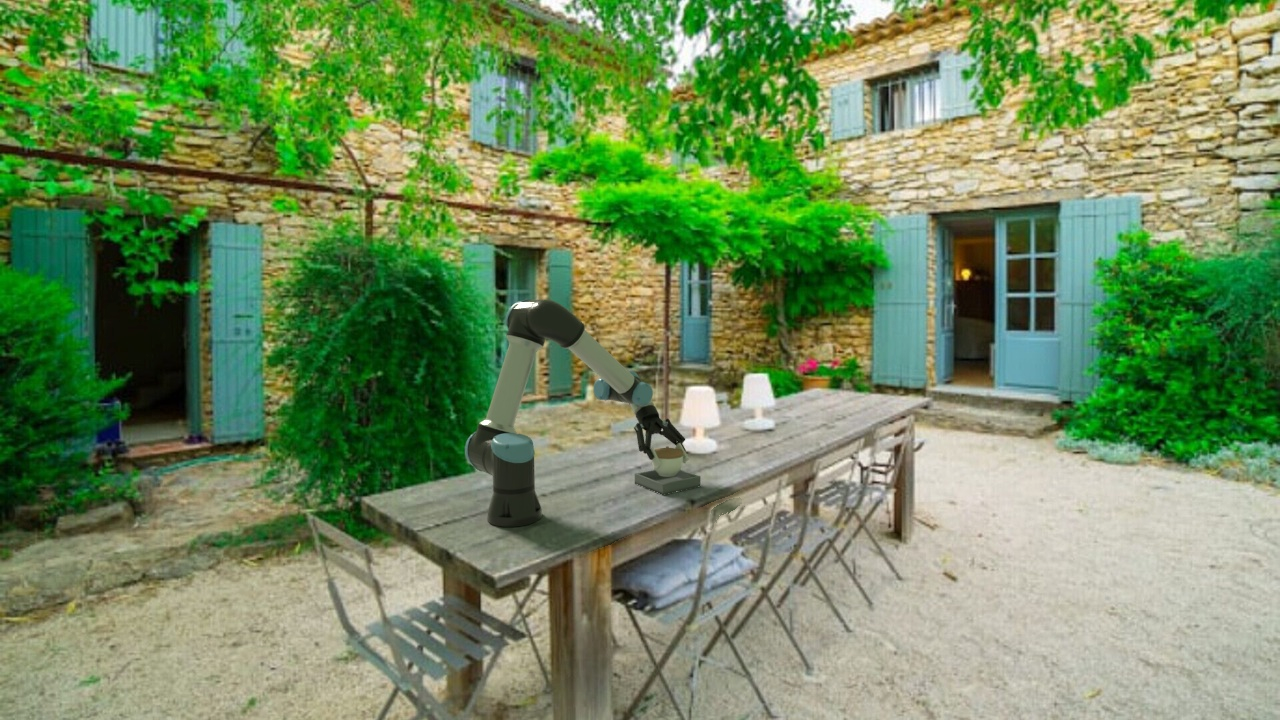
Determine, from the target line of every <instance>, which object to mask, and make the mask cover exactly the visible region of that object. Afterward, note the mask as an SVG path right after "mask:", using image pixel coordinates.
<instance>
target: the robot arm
mask: <svg viewBox="0 0 1280 720" xmlns="http://www.w3.org/2000/svg"><path fill="white" fill-rule="evenodd" d="M505 325H506V327H507V333H506V337H505V338H506V340H507V341H508V344H509V345H508V347H507V351H506V353H505V356H504V360H503V363H502V366H501V369H500V372H499V375H498V379H497V382H496V386H495V388H494V392H493V395H492V398H491V402H490V404H489V408H488V410H487V413H486V418H485V419H484V420H482V421H480V422H479V423H478V425H477V428H476V431H474V432H473V433H472V434H470V436H469V437H468V438H467V440H466V442H465V446H464V454H465V458H466V460H467V462H468V463H469V464H470V465H471V467H473V468H475V469H476V470H477V471H479V472H483V473H485V474H488V475H490V476H492V496H491V498H490V503H489V506H488V510H487V522H488V523H489V524H491V525H492V526H497V527H503V528H505V527H506V528H508V527H509V528H513V527H514V528H515V527H522V526H527V525H531V524H533V523H536V522H538V521H539V520H540V519H541V518H542V517H543V516H542V515H543V514H542V513H543V512H542V506H541V503H540V499H539V497H538V495H537V492H536V486H535V484H536V483H535V481H536V480H535V477H536V476H535V454H536V453H535V447H534V446H535V445H534V441H533V439H532V438H531V437H530V436H528V435H526V434H523V433H522V434H521V433H517V431H516V429H515V423H516V419H517V418H518V417H517V416H518V413H519V410H520V407H521V404H522V400H523V397H524V394H525V391H526V387H527V383H528V381H529V378H530V374H531V371H532V368H533V364H534V361H535V358H536V355H537V352H538V351H541V350H542V349H543V348H544V346H545V341H546V340H549V341H552V342H553V343H555V344H557V345H559V347H561V348H562V349H566V350H567V349H568V350H569V351H570V352H571V353H573V354H574V355H575V356H576V357H577V358H578V359H579V360H580V361H582V363H584V364H585V365H586V366H588V367H589V369H590V370H591V371H592V372H594V373H596V375H598V377H599V378H597V379H596V380H595V382H594V383H593V393H594V397H595V398H596V399H597V400H599V401H615V402H619V403H624V404H629V405H630V408H631V410H632V412H633V414H634V415H635V418H636V420H637V421H638V422H636V424H635V426H634V427H633V429H634V432H635V433H636V439H637V440H636V441H637V444H638V450H639V451H640V452H643V454H645V455H647V458H648V460H650V461H651V463H652V462H653V464H654V466H655V468H656V469H659V467H660V466H661V465H662V464H661V462H660V460H659V458H658V456H657V454H656V452H655V448H654V447H652V437H653V435H655V434H659V435H660V436H663V437H665V439H667V441H670V443H672V444H673V445H674V446H675V447H674V448H676V449H680V450H682V451H683V452H684V454H683V464H686V463H687V462H688V461H689V459H690V458H689V456H688V454H687V452H686V448H685V446H684V444H683V443H684V442H685V441H686V438H685V436H683V435H682V434H681V432H680V431H679V430H678V429H677V428H676V427H675V426H674V425H673V424H672V421H671V420H670V419H669V418H665V420H662V419H661V417H660V414H659V412H658V409H657V407H656V406H655V404H654V402H653V400H652V399H653V396H654V391H653V387H652V386H651V385H650V384H649V383H647V382H644V381H642V379H641V378H640V376H639V374H638V373H637V372H635V370H634V371H633V370H628V369H627V368H626V367H625V366H623V365H622V364H621V363H620V362H619V361H618V360H617V359H616V358H615V357H614V356H613V355H612V354H611V353H610V352H609V351H608V350H607V349H606V348H605V347H603V345H601V343H600V342H598V341H597V340H596V339H595V338H594V337H593V336H592V335H591V334H590V333H589V332H588V331H587V330H586V326H585V324H584V323H583V322H582V321H581V320H580V319H579V318H578V317H577V316H576V315H574V314H573V313H572V312H571V311H570V310H569V309H568V308H567V307H565V306H563V305H562V304H560V303H559V302H557V301H554V300H552V299H523V300H519V301H516V302H515V303H513V304H512V306H510V307H509V309H508V310H507V312H506V315H505ZM643 431H645V435H644V432H643Z"/></svg>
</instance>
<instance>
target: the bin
mask: <svg viewBox="0 0 1280 720" xmlns="http://www.w3.org/2000/svg"><path fill="white" fill-rule="evenodd" d="M636 484H638V485H637V486H639V485H640V486H639V487H641V486H643V487H642V488H644V487H645V488H644V489H646V488H648V489H650V490H649V491H651V490H653V491H655V492H654V493H656V492H658V493H660V494H662V495H661V496H665V495H664V494H667V495H669V494H668V493H671V494H673V493H672V492H676V491H680V492H682V491H681V490H684V491H687V490H686V489H688V490H691V489H690V488H693V489H696V488H695V487H697V488H699V487H698V486H700V487H701V476H700V475H697V474H695V473H692V472H689V471H686V470H683V469H681V470H680V471H679V472H678V473H677V475H676V476H672V477H663V476H659V475H658V473H657V472H656V471H655V469H651V470H645V471H641V472H637V473H634V485H636ZM648 489H647V490H648ZM653 491H652V492H653ZM658 493H657V494H658ZM676 493H677V492H676ZM660 494H659V495H660Z"/></svg>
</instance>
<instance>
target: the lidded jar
mask: <svg viewBox="0 0 1280 720" xmlns="http://www.w3.org/2000/svg"><path fill="white" fill-rule="evenodd" d="M654 450H655V452H656V454H657V456H658V458H659V460H660V462H661V464H662V465H661V466H660V467H659V469H656V468H655V466H654V464H653V462H652V461H651V463H652V464H651V465H652V468H653V470H655V471H656V472H657V473H658V475H659V476H663V477H672V476H676V475H677V473H678V472H679V471H680V470H682V468H683V464H684V463H683V454H684V452H683V451H682V450H680V449H676V448H675V447H669V446H665V447H661V448H660V447H659V448H654Z"/></svg>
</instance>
